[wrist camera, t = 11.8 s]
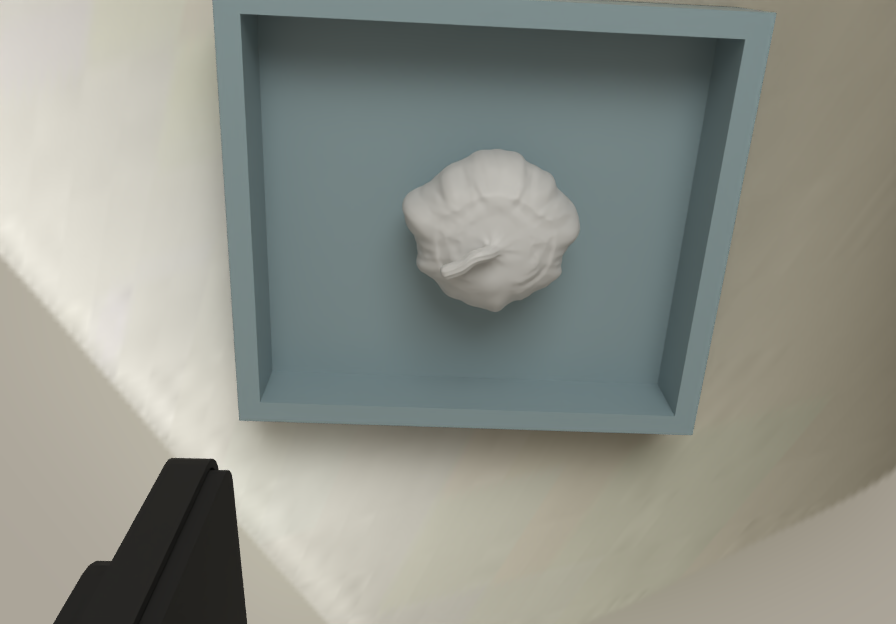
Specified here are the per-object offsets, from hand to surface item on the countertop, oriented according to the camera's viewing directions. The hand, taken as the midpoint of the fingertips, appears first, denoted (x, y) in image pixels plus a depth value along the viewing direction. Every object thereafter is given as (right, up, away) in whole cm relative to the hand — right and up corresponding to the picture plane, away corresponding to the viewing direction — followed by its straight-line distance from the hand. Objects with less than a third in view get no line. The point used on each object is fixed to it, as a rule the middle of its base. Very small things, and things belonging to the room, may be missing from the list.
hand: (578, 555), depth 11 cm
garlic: (0, +7, +19) cm, 20 cm away
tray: (-1, +7, +20) cm, 21 cm away
